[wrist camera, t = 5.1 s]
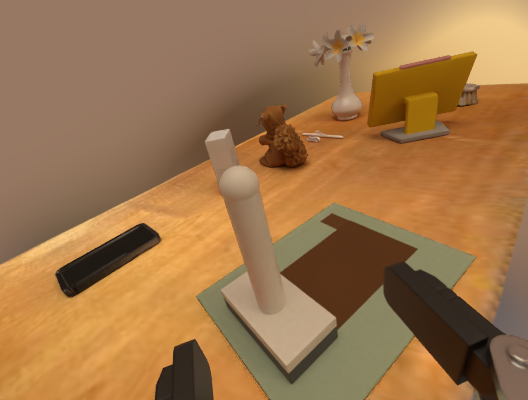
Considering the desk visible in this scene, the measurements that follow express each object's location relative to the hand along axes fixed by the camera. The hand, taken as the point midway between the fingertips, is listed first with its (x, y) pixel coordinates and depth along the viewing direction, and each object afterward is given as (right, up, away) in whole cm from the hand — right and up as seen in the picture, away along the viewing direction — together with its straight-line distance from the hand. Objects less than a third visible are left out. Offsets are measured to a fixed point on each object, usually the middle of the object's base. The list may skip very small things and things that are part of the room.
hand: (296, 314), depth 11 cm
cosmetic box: (-8, +7, +48) cm, 49 cm away
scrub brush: (0, -8, +17) cm, 19 cm away
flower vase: (+25, +31, +75) cm, 85 cm away
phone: (-26, -5, +34) cm, 43 cm away
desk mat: (+6, -5, +21) cm, 22 cm away
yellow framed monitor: (+35, +20, +52) cm, 66 cm away
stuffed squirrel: (+4, +13, +53) cm, 55 cm away
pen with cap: (+14, +21, +63) cm, 68 cm away
